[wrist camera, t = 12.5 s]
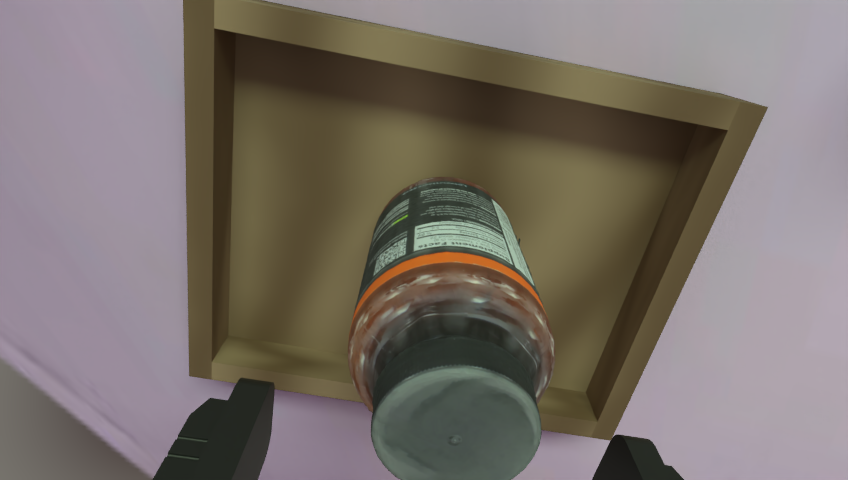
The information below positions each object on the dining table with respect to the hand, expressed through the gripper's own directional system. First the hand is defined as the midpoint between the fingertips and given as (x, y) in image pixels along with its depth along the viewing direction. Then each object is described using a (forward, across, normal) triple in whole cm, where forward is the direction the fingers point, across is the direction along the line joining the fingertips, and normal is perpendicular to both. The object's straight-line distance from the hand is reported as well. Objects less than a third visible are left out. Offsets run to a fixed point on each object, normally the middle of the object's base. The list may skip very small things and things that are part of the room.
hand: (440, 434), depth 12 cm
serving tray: (+12, 0, 0) cm, 12 cm away
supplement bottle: (+11, 0, 0) cm, 11 cm away
